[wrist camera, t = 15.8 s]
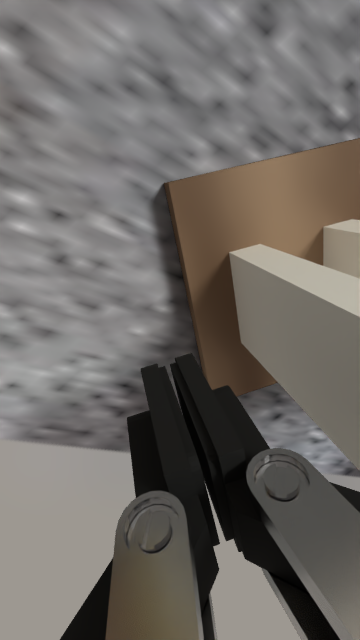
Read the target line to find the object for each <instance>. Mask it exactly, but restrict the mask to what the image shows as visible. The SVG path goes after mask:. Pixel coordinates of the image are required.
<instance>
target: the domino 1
mask: <svg viewBox="0 0 360 640" xmlns="http://www.w3.org/2000/svg"><path fill="white" fill-rule="evenodd" d="M229 256H230V263H231V271H232V278H233V286H234V293H235V301H236V308H237V316H238V323H239V331H240V338H241V343H242V344H243V345H244V346H245V347H246V348H247V349H248V350H249V352H250V353H251V354H252V355H253V356H254V357H255V358H256V359H257V360H258V361H259V362H260V363H261V365H262V366H263V367H264V368H265V369H266V370H267V371H268V372H269V373H270V374H271V375H272V376H273V378H274V379H275V380H276V381H277V382H278V383H279V384H280V385H281V386H282V387H283V388H284V389H285V391H286V392H287V393H288V394H289V395H290V396H291V397H292V398H293V399H294V400H295V401H296V402H297V404H298V405H299V406H300V407H301V408H302V409H303V410H304V411H305V412H306V413H307V414H308V415H309V417H310V418H311V419H312V420H313V421H314V422H315V423H316V424H317V425H318V426H319V427H320V429H321V430H322V431H323V432H324V433H325V434H326V435H327V436H328V437H329V438H330V439H331V440H332V442H333V443H334V444H335V445H336V446H337V447H338V448H339V449H340V450H341V451H342V452H343V453H344V455H345V456H346V457H347V458H348V459H349V460H350V461H351V462H352V463H353V464H354V465H355V466H356V468H357V469H358V470H359V471H360V279H359V278H356V277H354V276H351V275H348V274H345V273H342V272H339V271H336V270H334V269H331V268H328V267H325V266H322V265H319V264H316V263H313V262H311V261H308V260H305V259H302V258H299V257H296V256H293V255H291V254H288V253H285V252H282V251H279V250H276V249H273V248H271V247H268V246H265V245H262V244H258V245H254V246H251V247H247V248H243V249H239V250H236V251H232V252H229Z"/></svg>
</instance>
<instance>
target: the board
mask: <svg viewBox="0 0 360 640" xmlns="http://www.w3.org/2000/svg"><path fill="white" fill-rule="evenodd" d="M164 186H165V191H166V196H167V201H168V206H169V211H170V216H171V220H172V225H173V230H174V235H175V240H176V245H177V250H178V254H179V259H180V264H181V269H182V274H183V279H184V283H185V288H186V293H187V298H188V303H189V308H190V313H191V317H192V322H193V327H194V332H195V337H196V342H197V347H198V351H199V356H200V361H201V366H202V371H203V374H204V376H205V378H206V380H207V382H208V384H209V385H210V387H211V389H212V390H213V389H217V388H220V387H223V386H226V385H228V386H229V387H230V388H231V389H232V391H233V392H234V394H235V395H236V397H237V396H239V395H242V394H245V393H248V392H251V391H254V390H257V389H260V388H263V387H266V386H269V385H272V384H275V383H278V382H277V381H276V380H275V379H274V378H273V376H272V375H271V374H270V373H269V372H268V371H267V370H266V369H265V368H264V367H263V366H262V365H261V363H260V362H259V361H258V360H257V359H256V358H255V357H254V356H253V355H252V354H251V353H250V352H249V350H248V349H247V348H246V347H245V346H244V345H243V344H242V343H241V338H240V331H239V323H238V316H237V308H236V301H235V293H234V286H233V278H232V271H231V263H230V256H229V252H232V251H236V250H239V249H243V248H247V247H251V246H254V245H258V244H262V245H265V246H268V247H271V248H273V249H276V250H279V251H282V252H285V253H288V254H291V255H293V256H296V257H299V258H302V259H305V260H308V261H311V262H313V263H316V264H319V265H322V266H323V227H325V226H329V225H332V224H336V223H340V222H343V221H347V220H351V219H354V220H360V138H358V139H354V140H349V141H345V142H341V143H336V144H332V145H328V146H323V147H319V148H314V149H310V150H306V151H301V152H297V153H293V154H288V155H284V156H280V157H275V158H271V159H267V160H262V161H258V162H254V163H249V164H245V165H241V166H236V167H232V168H228V169H223V170H219V171H215V172H210V173H206V174H202V175H197V176H193V177H189V178H184V179H180V180H176V181H171V182H167V183H164Z"/></svg>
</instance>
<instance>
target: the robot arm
mask: <svg viewBox="0 0 360 640" xmlns="http://www.w3.org/2000/svg"><path fill="white" fill-rule="evenodd" d="M175 361H176V363H173V364H170V367H171V371H172V375H173V379H174V383H175V386H176V390H177V394H178V398H179V402H180V406H181V409H180V406H179V404H178V401H177V398H176V395H175V392H174V390H173V387H172V384H171V381H170V379H169V376H168V373H167V370H166V368H165V366H163V367H160V368H158V365H157V364H154V365H151V366H147V367H144V368H141V373H142V378H143V382H144V387H145V392H146V396H147V401H148V405H149V411H146V412H142V413H139V414H136V415H133V416H130V417H127V424H128V433H129V442H130V450H131V459H132V468H133V476H134V485H135V494H136V499H134V500H133V501H132V502H131V503H130V504H129V505H128V507H126V508H125V510H124V511H123V513H122V515H121V517H120V519H119V521H118V525H117V529H116V535H115V546H114V556H113V559H112V561H111V562H110V563H109V565H108V567H107V568H106V570H105V571H104V573H103V574H102V576H101V577H100V579H99V580H98V582H97V584H96V585H95V586H94V588H93V590H92V591H91V593H90V594H89V596H88V597H87V599H86V600H85V602H84V603H83V605H82V606H81V608H80V610H79V611H78V613H77V614H76V616H75V617H74V619H73V620H72V622H71V623H70V625H69V626H68V628H67V629H66V631H65V633H64V634H63V636H62V637H61V639H60V640H217V633H216V627H215V620H214V613H213V606H212V599H211V594H210V591H211V588H212V586H213V584H214V581H215V579H216V576H217V573H218V571H219V567H218V563H217V559H216V556H215V552H214V548H213V546H216V545H218V544H220V542H219V538H218V534H217V530H216V526H215V522H214V518H213V514H212V510H211V506H210V502H209V498H208V494H207V490H206V486H207V489H208V492H209V495H210V497H211V500H212V503H213V506H214V509H215V512H216V514H217V517H218V520H219V523H220V525H221V528H222V531H223V534H224V537H225V539H226V541H228V540H231V539H234V541H235V544H236V546H237V548H238V551H239V552H241V551H242V552H243V555H244V557H245V559H246V560H248V561H250V562H252V563H254V564H256V565H257V566H259V567H261V568H262V571H263V573H264V575H265V577H266V579H267V581H268V582H269V584H270V586H271V588H272V589H273V591H274V593H275V594H276V596H277V598H278V600H279V602H280V603H281V605H282V607H283V608H284V610H285V612H286V614H287V615H288V617H289V619H290V621H291V622H292V624H293V626H294V628H295V629H296V631H297V633H298V635H299V636H300V638H301V640H360V492H358V491H355V490H352V489H349V488H346V487H343V486H340V485H337V484H333V483H331V482H328V480H327V479H326V478H324V476H323V475H322V474H321V473H320V472H319V471H318V470H317V469H316V468H315V467H314V466H313V465H312V464H311V463H310V462H309V461H308V460H306V459H305V458H304V457H302V456H301V455H300V454H298V453H296V452H293V451H291V450H287V449H282V448H273V449H270V448H269V446H268V445H267V443H266V442H265V440H264V438H263V437H262V435H261V434H260V432H259V431H258V429H257V428H256V426H255V425H254V423H253V421H252V420H251V418H250V417H249V415H248V414H247V412H246V411H245V409H244V408H243V406H242V405H241V403H240V401H239V400H238V398H237V397H236V395H235V394H234V392H233V391H232V389H231V388H230V387H229V386H228V385H226V386H223V387H220V388H217V389H213V390H212V389H211V387H210V385H209V384H208V382H207V380H206V378H205V376H204V374H203V373H202V371H201V369H200V367H199V365H198V364H197V362H196V360H195V358H194V356H193V355H192V353H190V354H187V355H183V356H180V357H177V358H175ZM181 410H182V412H181ZM182 414H183V415H182ZM205 483H206V485H205Z"/></svg>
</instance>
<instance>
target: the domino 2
mask: <svg viewBox="0 0 360 640" xmlns="http://www.w3.org/2000/svg"><path fill="white" fill-rule="evenodd" d="M323 266H325V267H328V268H331V269H334V270H336V271H339V272H342V273H345V274H348V275H351V276H354V277H356V278H359V279H360V220H354V219H351V220H347V221H343V222H340V223H336V224H332V225H329V226H325V227H323Z"/></svg>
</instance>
